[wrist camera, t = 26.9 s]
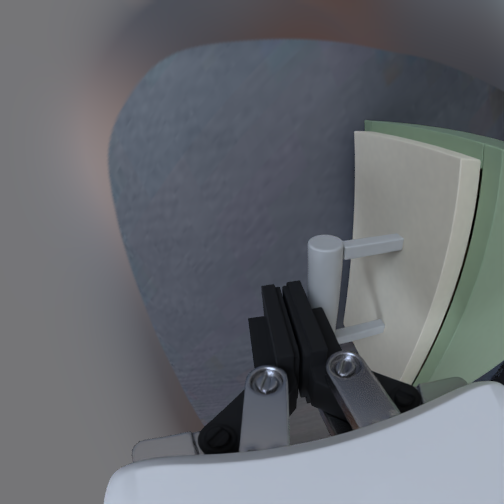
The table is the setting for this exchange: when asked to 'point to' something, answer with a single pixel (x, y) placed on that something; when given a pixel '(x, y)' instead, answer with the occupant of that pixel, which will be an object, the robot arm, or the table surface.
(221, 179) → the table surface
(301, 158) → the table surface
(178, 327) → the table surface
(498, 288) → the cabinet
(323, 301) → the drawer
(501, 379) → the headphones
